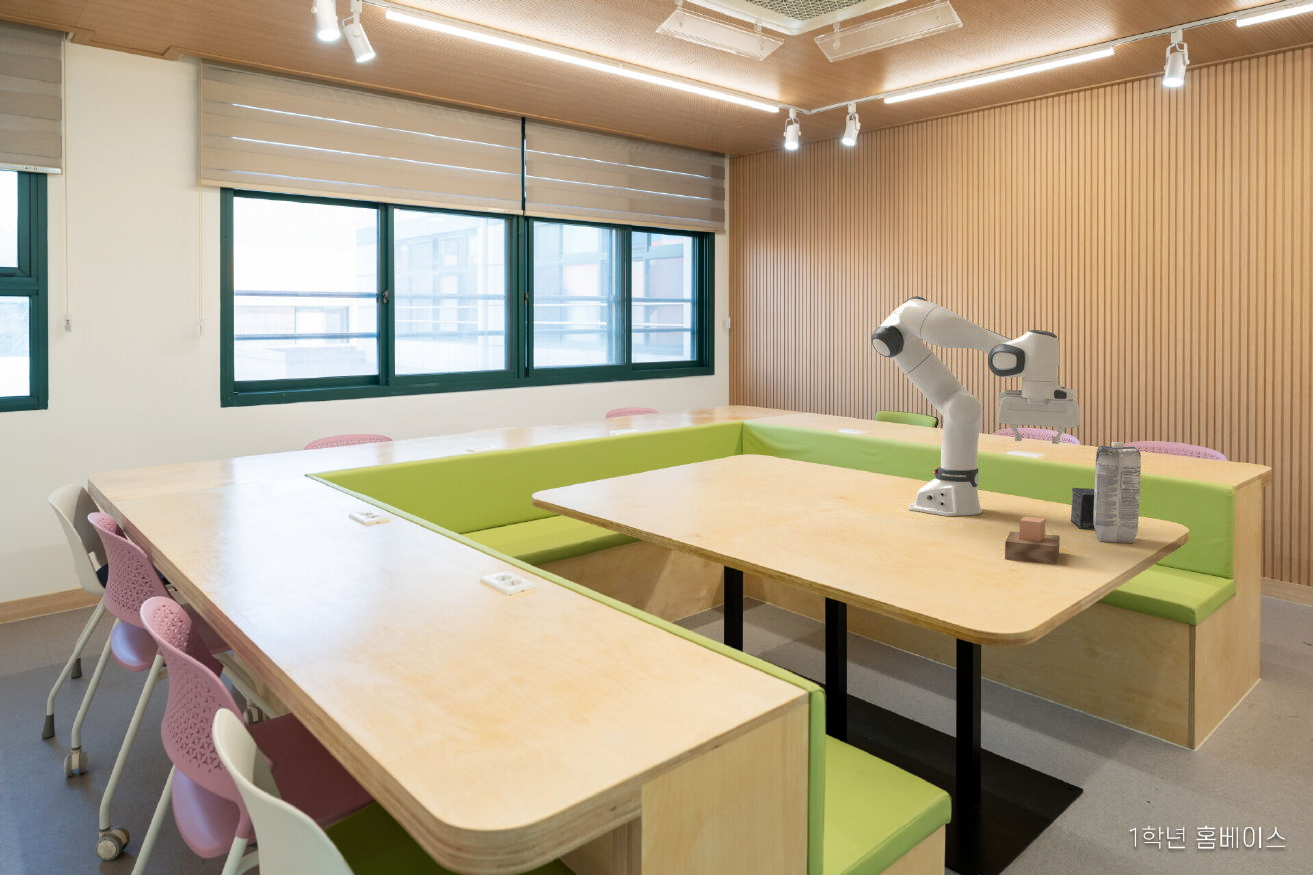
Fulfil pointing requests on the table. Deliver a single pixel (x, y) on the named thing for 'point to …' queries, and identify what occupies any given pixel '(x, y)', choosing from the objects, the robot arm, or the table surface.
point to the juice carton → (1117, 493)
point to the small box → (1083, 508)
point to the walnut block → (1032, 549)
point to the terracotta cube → (1032, 529)
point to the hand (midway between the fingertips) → (1036, 442)
